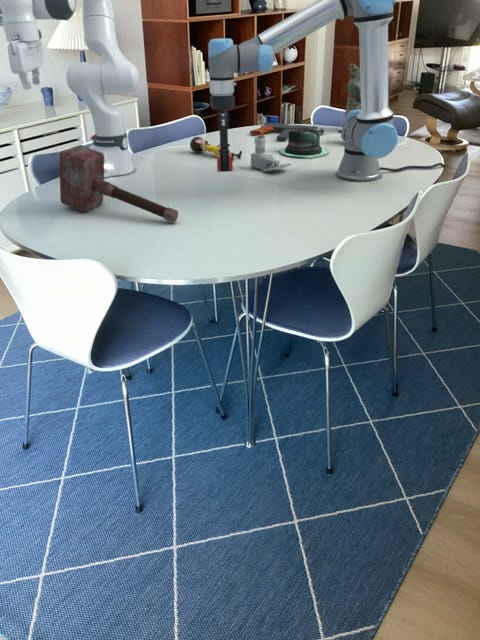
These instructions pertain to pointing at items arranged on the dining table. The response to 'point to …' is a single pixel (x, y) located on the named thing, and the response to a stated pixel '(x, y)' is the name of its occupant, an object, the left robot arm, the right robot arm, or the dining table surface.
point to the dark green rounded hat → (304, 143)
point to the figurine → (208, 147)
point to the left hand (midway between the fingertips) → (32, 86)
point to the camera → (264, 157)
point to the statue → (353, 90)
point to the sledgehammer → (96, 184)
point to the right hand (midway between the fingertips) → (224, 169)
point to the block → (220, 163)
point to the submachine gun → (280, 129)
